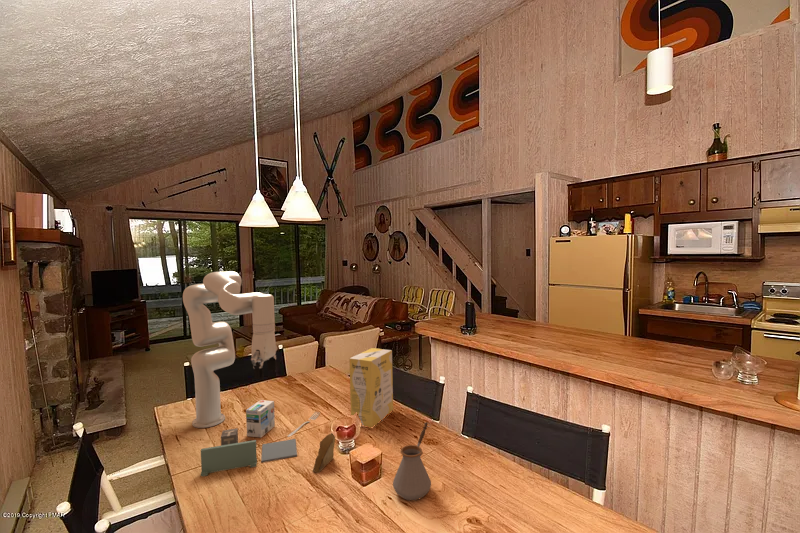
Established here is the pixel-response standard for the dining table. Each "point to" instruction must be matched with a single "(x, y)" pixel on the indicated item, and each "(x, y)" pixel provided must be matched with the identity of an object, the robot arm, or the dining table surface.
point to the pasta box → (371, 385)
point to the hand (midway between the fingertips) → (265, 374)
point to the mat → (279, 450)
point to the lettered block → (229, 436)
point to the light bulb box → (260, 418)
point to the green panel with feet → (228, 457)
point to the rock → (325, 453)
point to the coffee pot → (412, 472)
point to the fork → (303, 424)
